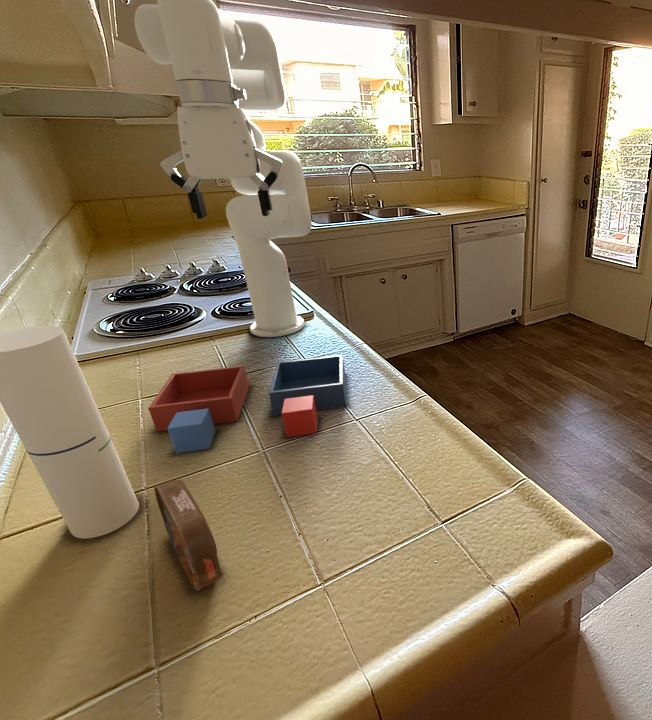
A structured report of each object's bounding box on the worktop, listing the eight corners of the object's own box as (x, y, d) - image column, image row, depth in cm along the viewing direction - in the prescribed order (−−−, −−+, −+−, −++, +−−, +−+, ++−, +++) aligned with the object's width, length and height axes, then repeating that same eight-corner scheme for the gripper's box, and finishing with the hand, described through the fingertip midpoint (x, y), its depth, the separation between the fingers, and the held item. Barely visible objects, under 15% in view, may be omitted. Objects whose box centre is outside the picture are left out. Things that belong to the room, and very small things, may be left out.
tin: (164, 528, 58) (143, 475, 54) (192, 515, 59) (173, 463, 56) (203, 608, 48) (179, 550, 44) (234, 589, 50) (215, 532, 46)
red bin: (179, 395, 87) (171, 373, 85) (249, 386, 89) (244, 365, 87) (156, 431, 76) (147, 408, 74) (237, 420, 79) (231, 397, 77)
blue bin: (281, 382, 91) (276, 362, 89) (345, 375, 94) (342, 354, 92) (273, 416, 80) (268, 393, 78) (346, 406, 83) (342, 384, 81)
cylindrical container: (56, 529, 57) (-46, 347, 46) (113, 491, 63) (35, 322, 52) (97, 544, 55) (0, 357, 44) (152, 504, 61) (79, 330, 50)
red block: (289, 421, 79) (284, 398, 77) (317, 417, 80) (313, 395, 78) (286, 437, 75) (281, 413, 73) (316, 432, 76) (312, 409, 74)
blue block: (184, 436, 75) (176, 412, 73) (215, 431, 76) (208, 408, 74) (176, 453, 71) (167, 428, 69) (209, 448, 72) (201, 424, 70)
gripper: (273, 100, 74) (292, 211, 81) (152, 99, 70) (183, 216, 77) (266, 95, 68) (287, 217, 75) (132, 93, 64) (168, 222, 71)
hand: (234, 216), depth 76 cm, fingers open, 9 cm apart
